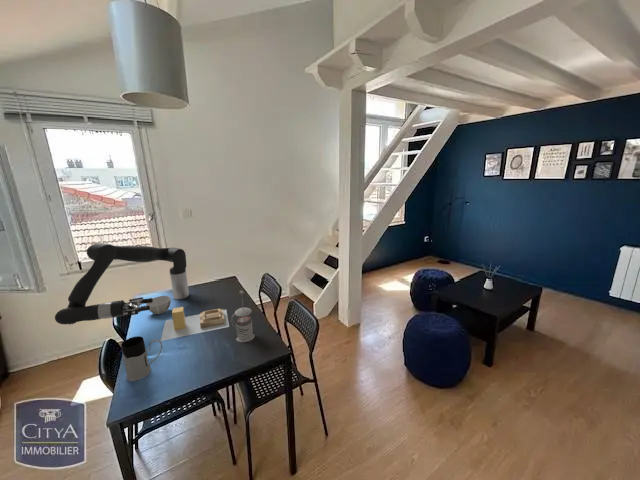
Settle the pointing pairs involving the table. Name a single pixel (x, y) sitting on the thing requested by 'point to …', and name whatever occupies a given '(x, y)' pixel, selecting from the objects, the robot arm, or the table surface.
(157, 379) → the table surface
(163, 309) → the teacup
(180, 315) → the ochre pillar
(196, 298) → the table surface
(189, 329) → the white rectangular board
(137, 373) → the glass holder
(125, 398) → the table surface
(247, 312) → the french press
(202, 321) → the beech base slab
